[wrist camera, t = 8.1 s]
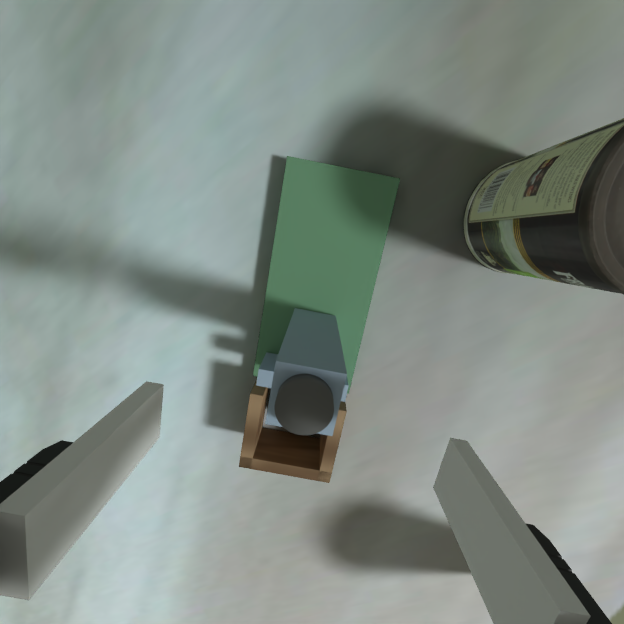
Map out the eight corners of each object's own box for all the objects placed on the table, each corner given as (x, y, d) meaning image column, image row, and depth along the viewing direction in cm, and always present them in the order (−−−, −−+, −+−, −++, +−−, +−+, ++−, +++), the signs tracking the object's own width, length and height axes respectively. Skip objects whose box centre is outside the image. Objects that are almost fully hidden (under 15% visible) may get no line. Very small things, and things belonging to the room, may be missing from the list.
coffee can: (565, 272, 30) (773, 302, 16) (457, 274, 30) (571, 304, 16) (586, 156, 27) (851, 76, 14) (468, 159, 28) (613, 83, 14)
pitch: (288, 160, 28) (287, 156, 27) (396, 181, 28) (400, 178, 27) (255, 369, 33) (252, 375, 32) (347, 386, 33) (348, 393, 32)
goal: (260, 370, 33) (250, 393, 28) (342, 386, 33) (346, 411, 28) (250, 434, 35) (238, 466, 30) (328, 448, 35) (329, 482, 30)
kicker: (274, 304, 30) (235, 361, 16) (356, 319, 30) (386, 389, 16) (264, 366, 31) (220, 467, 18) (341, 381, 31) (358, 492, 18)
